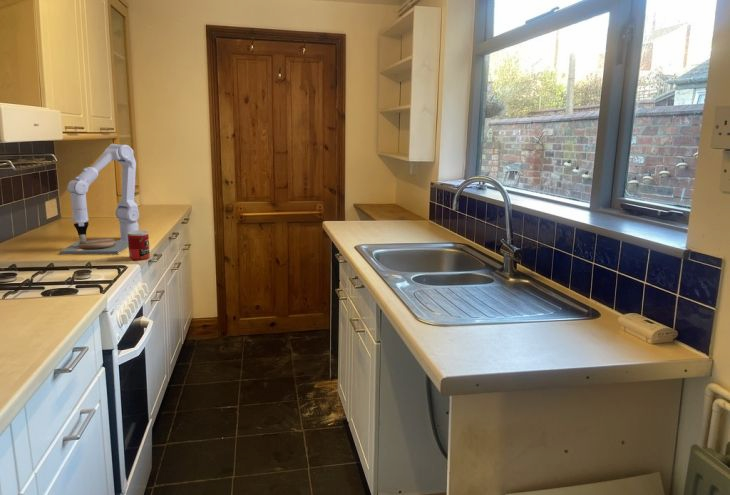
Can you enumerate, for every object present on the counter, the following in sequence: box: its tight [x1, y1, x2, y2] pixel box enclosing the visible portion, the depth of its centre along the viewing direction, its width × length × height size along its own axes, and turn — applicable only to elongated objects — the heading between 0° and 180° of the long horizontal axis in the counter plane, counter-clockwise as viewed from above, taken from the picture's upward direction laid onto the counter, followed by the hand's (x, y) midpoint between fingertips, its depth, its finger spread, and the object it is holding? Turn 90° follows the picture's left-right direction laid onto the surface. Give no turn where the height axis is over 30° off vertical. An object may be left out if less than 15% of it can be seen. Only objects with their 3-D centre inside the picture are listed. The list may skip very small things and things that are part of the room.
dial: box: [78, 234, 116, 249], centre depth 239 cm, size 14×14×5 cm
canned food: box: [128, 229, 151, 262], centre depth 226 cm, size 8×8×11 cm
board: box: [60, 240, 129, 255], centre depth 239 cm, size 19×23×2 cm
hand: (82, 239), depth 238 cm, fingers closed
